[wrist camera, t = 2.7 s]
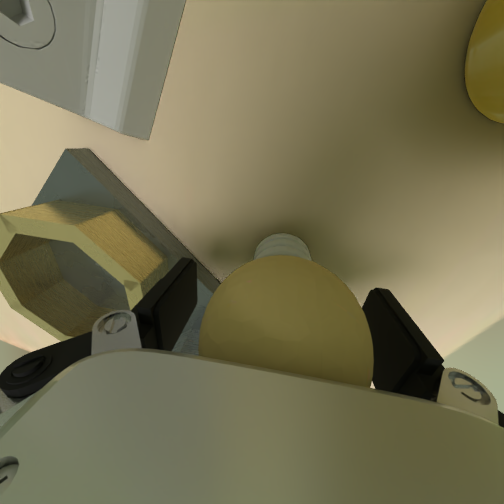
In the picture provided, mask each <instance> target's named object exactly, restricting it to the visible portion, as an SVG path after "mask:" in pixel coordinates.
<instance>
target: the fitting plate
mask: <svg viewBox="0 0 504 504" xmlns="http://www.w3.org/2000/svg"><path fill="white" fill-rule="evenodd" d="M182 257H185V258H191V259H193V260H194V262H196V263H197V297H198V301H197V305H196V307H195V309H194V311H193V313H192V315H191V316H190V318H189V320H188V322H187V324H186V326H185V328H184V329H183V331H182V333H181V335H180V337H179V339H178V340H177V342H176V344H175V346H174V348H173V350H172V352H178V353H184V354H190V355H197V356H199V350H198V346H199V335H200V327H201V322H202V318H203V316H204V313H205V310H206V307H207V305H208V303H209V301H210V299H211V297H212V296H213V294H214V292H215V291H216V289H217V288H218V286H219V285H220V283H219V282H218V281H217V280H216V279H215V278H214V277H213V276H212V275H211V274H210V272H209V271H208V270H207V269H206V268H205V267H204V266H203V265H202V264H201V263H200V262H199V261H198V260H197V259H196V258H195V257H194V256H193V255H192V254H191V253H190V252H189V251H188V250H187V249H186V248H185V247H184V246H183V245H182V244H181V243H180V242H179V241H178V240H177V239H176V238H175V237H174V236H173V235H172V234H171V233H170V232H169V231H168V230H167V229H166V228H165V226H164V225H163V224H162V223H161V222H160V221H159V220H158V219H157V218H156V217H155V216H154V215H153V214H152V213H151V212H150V211H149V210H148V209H147V208H146V207H145V206H144V205H143V204H142V203H141V202H140V201H139V200H138V199H137V198H136V197H135V196H134V195H133V194H132V193H131V192H130V191H129V190H128V189H127V188H126V187H125V186H124V185H123V184H122V183H121V182H120V180H119V179H118V178H117V177H116V176H115V175H114V174H113V173H112V172H111V171H110V170H109V169H108V168H107V167H106V166H105V165H104V164H103V163H102V162H101V161H100V160H99V159H98V158H97V157H96V156H95V155H94V154H93V153H92V152H91V151H90V150H89V149H88V148H83V149H65V150H64V152H63V154H62V156H61V157H60V159H59V161H58V162H57V164H56V166H55V167H54V169H53V171H52V172H51V174H50V176H49V177H48V179H47V181H46V183H45V184H44V186H43V188H42V189H41V191H40V193H39V194H38V196H37V198H36V199H35V201H34V203H33V204H32V206H30V207H25V208H21V209H17V210H13V211H8V212H4V213H0V291H1V292H2V294H3V296H4V297H5V299H6V300H7V302H8V304H9V305H10V307H11V308H12V309H14V310H15V311H17V312H18V313H20V314H21V315H23V316H24V317H26V318H27V319H29V320H30V321H31V322H33V323H34V324H36V325H37V326H39V327H40V328H42V329H43V330H45V331H46V332H48V333H49V334H51V335H52V336H54V337H55V338H57V339H58V340H60V341H61V342H62V341H65V340H68V339H70V338H73V337H76V336H79V335H82V334H85V333H88V332H90V331H92V329H93V325H94V324H95V322H96V321H97V320H98V319H99V318H100V317H102V316H104V315H105V314H107V313H110V312H112V311H116V310H129V311H131V310H132V309H133V308H134V306H135V305H136V304H137V303H138V302H139V301H140V300H141V299H142V298H143V297H144V296H145V295H146V294H147V293H148V291H149V290H150V289H151V288H152V287H153V286H154V285H155V284H156V283H157V282H158V281H159V280H160V279H161V278H163V277H164V276H165V275H166V274H167V273H168V272H169V271H170V270H171V269H172V268H173V267H174V265H175V264H176V263H177V262H178V261H179V260H180V259H181V258H182Z"/></svg>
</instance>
